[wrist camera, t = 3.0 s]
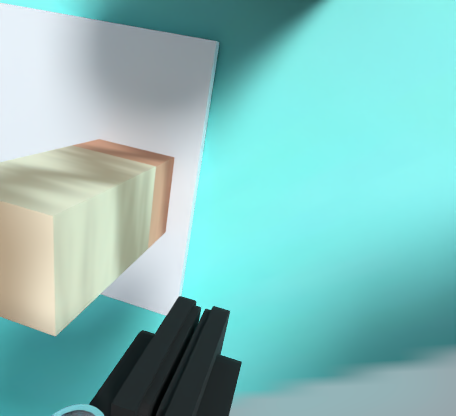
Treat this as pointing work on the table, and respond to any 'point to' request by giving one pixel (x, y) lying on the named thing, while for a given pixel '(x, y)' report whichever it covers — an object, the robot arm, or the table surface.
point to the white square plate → (112, 115)
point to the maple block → (75, 226)
